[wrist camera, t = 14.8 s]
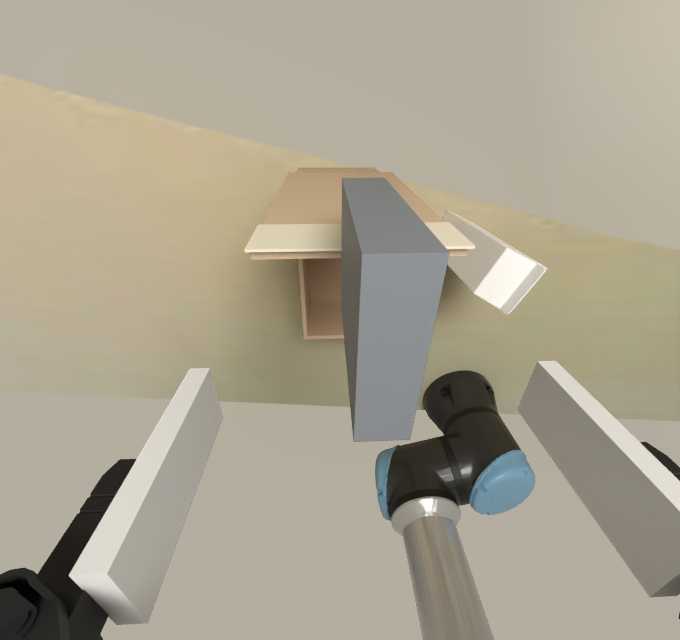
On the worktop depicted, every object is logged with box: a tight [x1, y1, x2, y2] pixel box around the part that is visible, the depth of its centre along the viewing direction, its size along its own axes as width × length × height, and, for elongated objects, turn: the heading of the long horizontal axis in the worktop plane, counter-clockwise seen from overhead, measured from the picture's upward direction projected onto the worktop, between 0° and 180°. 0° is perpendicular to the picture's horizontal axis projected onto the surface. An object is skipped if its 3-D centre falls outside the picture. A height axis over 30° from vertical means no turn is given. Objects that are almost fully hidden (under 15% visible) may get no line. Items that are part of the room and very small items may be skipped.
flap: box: [244, 172, 475, 442], centre depth 22 cm, size 32×12×7 cm
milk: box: [442, 210, 548, 315], centre depth 42 cm, size 6×6×22 cm
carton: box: [296, 168, 379, 340], centre depth 46 cm, size 22×11×12 cm, turn 0°
